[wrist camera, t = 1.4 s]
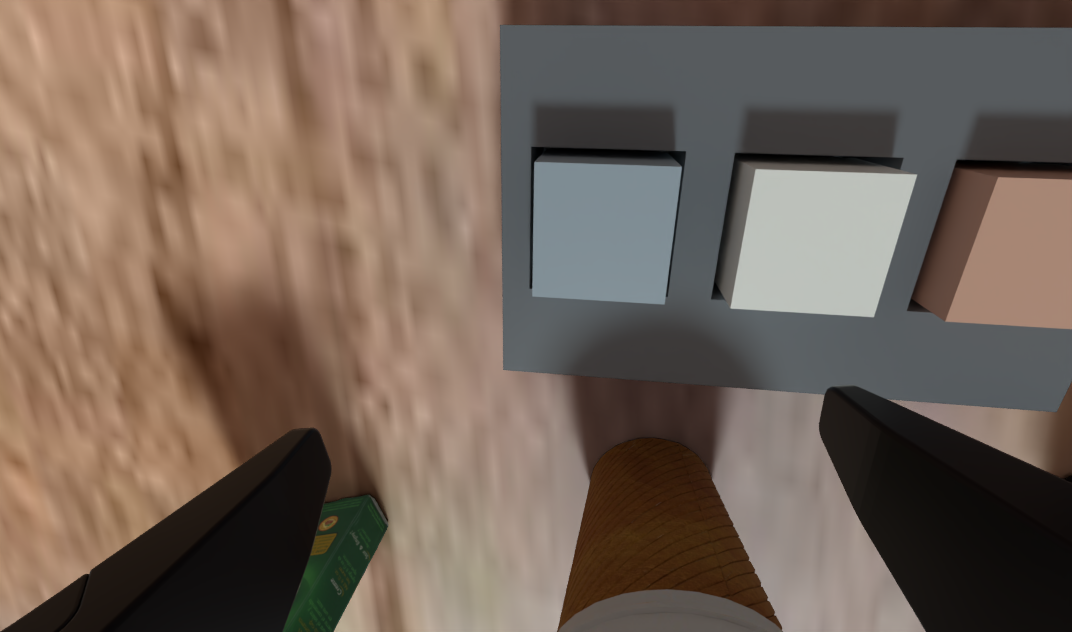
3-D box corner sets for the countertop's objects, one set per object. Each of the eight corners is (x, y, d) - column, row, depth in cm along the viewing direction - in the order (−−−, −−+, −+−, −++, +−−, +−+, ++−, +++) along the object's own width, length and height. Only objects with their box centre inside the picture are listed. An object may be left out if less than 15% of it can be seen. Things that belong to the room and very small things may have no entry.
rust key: (1057, 164, 18) (1176, 183, 14) (1007, 285, 19) (1101, 331, 16) (918, 159, 18) (998, 177, 14) (882, 279, 20) (945, 321, 16)
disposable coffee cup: (749, 409, 25) (861, 656, 14) (737, 554, 29) (819, 840, 18) (553, 410, 26) (517, 637, 15) (566, 549, 30) (544, 811, 19)
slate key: (667, 152, 19) (681, 166, 15) (654, 267, 21) (664, 304, 17) (547, 148, 19) (534, 161, 16) (544, 261, 21) (532, 296, 17)
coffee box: (282, 546, 33) (98, 804, 21) (259, 512, 32) (53, 763, 20) (392, 526, 31) (259, 797, 19) (371, 489, 30) (217, 751, 18)
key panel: (1099, 43, 18) (1247, 28, 14) (974, 353, 22) (1056, 412, 18) (521, 38, 20) (500, 25, 16) (520, 323, 25) (503, 370, 20)
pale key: (855, 158, 18) (917, 174, 15) (824, 275, 20) (873, 317, 16) (726, 154, 19) (755, 169, 15) (707, 270, 20) (730, 308, 17)
